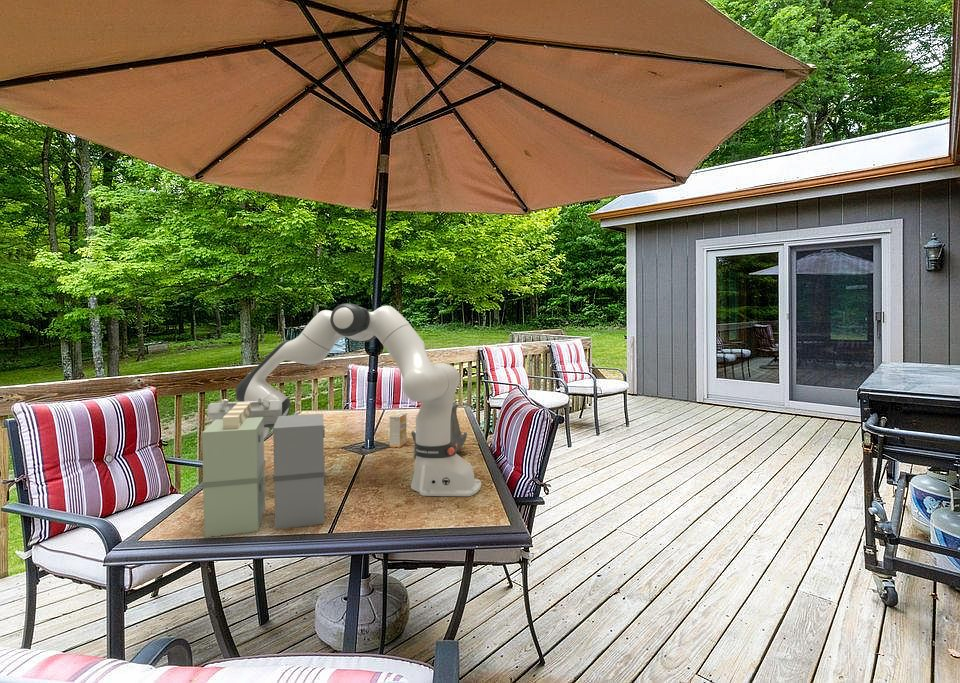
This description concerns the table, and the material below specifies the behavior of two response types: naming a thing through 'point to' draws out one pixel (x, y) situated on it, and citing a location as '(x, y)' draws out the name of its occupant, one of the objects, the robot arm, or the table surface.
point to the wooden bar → (237, 415)
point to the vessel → (452, 430)
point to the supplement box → (398, 430)
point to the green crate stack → (233, 477)
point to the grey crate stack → (299, 470)
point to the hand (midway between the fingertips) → (242, 400)
